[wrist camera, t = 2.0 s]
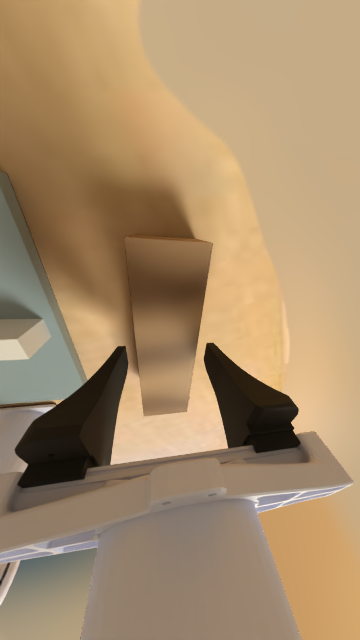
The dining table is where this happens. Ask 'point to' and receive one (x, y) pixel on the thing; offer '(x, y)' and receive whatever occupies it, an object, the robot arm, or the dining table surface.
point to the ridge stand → (30, 318)
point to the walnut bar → (166, 315)
